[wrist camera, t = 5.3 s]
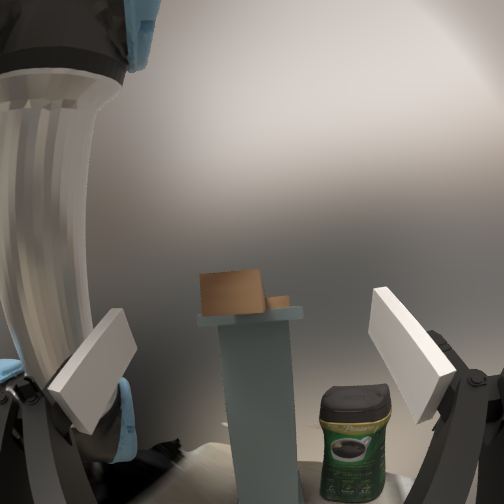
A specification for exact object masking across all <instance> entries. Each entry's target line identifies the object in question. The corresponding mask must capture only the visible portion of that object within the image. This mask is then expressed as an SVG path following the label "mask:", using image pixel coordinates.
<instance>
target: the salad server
mask: <svg viewBox="0 0 504 504" xmlns="http://www.w3.org/2000/svg"><path fill="white" fill-rule="evenodd" d="M200 288H201V289H200V290H201V305H202V317H205V316H222V315H237V314H251V313H263V312H264V311H265V310H266V309H277V308H287V307H290V306H289V296H280V297H268V298H265V290H264V286H263V282H262V279H261V275H260V271H259V269H254V270H243V271H231V272H220V273H209V274H208V273H207V274H200Z"/></svg>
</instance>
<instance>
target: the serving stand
mask: <svg viewBox="0 0 504 504" xmlns="http://www.w3.org/2000/svg"><path fill="white" fill-rule="evenodd" d="M300 318H303V308H302V306H299V307H298V306H297V307H287V308H277V309H266V310H265V311H264V312H263V313H251V314H237V315H222V316H205V317H202V314H199V315H197V326H213V325H218V335H219V347H220V357H221V367H222V376H223V386H224V396H225V405H226V413H227V420H228V429H229V436H230V444H231V451H232V458H233V465H234V472H235V478H236V484H237V490H238V496H239V497H238V503H237V504H304V498H303V493H302V487H301V481H300V475H299V470H298V471H297V445H296V423H295V405H294V389H293V373H292V359H291V346H290V332H289V320H290V319H300Z"/></svg>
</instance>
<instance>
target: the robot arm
mask: <svg viewBox="0 0 504 504" xmlns="http://www.w3.org/2000/svg"><path fill="white" fill-rule="evenodd" d="M160 3H161V0H0V299H1V303H2V306H3V310H4V313H5V317H6V320H7V323H8V327H9V330H10V333H11V336H12V338H13V341H14V344H15V347H16V349H17V352H18V355H19V357H20V360H21V361H19V360H14V359H0V504H98V503H97V501H96V498H95V496H94V494H93V491H92V489H91V486H90V484H89V481H88V479H87V476H86V473H85V470H84V467H83V464H82V462H107V463H110V464H113V463H115V462H122V461H130V460H132V459H133V458H134V457H135V456H136V453H137V438H136V430H135V419H134V411H133V404H132V397H131V391H130V387H129V383H128V381H127V380H126V379H125V378H122V375H123V373H124V372H125V370H126V368H127V366H128V364H129V363H130V361H131V359H132V357H133V355H134V354H135V352H136V350H137V346H136V344H135V341H134V339H133V336H132V334H131V331H130V328H129V325H128V323H127V320H126V317H125V314H124V311H123V309H122V308H112V309H111V310H110V311H109V312H108V313H107V314H106V315H105V317H104V318H103V319H102V320H101V321H100V322H99V324H98V325H97V326H96V327H95V328H94V330H93V327H92V319H91V312H90V304H89V295H88V283H87V269H86V247H85V246H86V245H85V215H86V191H87V178H88V167H89V166H88V165H89V158H90V149H91V142H92V136H93V129H94V124H95V118H96V114H97V113H98V112H99V110H100V109H101V108H102V107H103V106H104V105H106V104H107V103H108V102H109V101H111V100H112V99H113V98H115V97H116V96H117V95H119V94H120V92H121V89H122V85H123V81H124V77H125V73H126V71H128V72H129V73H134V72H136V71H140V70H143V69H145V67H146V66H147V62H148V57H149V53H150V48H151V42H152V37H153V32H154V27H155V21H156V17H157V14H158V10H159V7H160ZM368 333H369V335H370V337H371V338H372V340H373V342H374V344H375V346H376V348H377V349H378V351H379V353H380V355H381V357H382V358H383V360H384V362H385V364H386V366H387V368H388V369H389V371H390V373H391V375H392V377H393V379H394V381H395V382H396V385H397V386H398V388H399V390H400V392H401V394H402V396H403V398H404V400H405V402H406V404H407V406H408V408H409V410H410V412H411V414H412V416H413V418H414V420H415V423H416V424H419V423H421V422H424V421H427V420H430V419H432V418H433V416H434V414H435V412H436V411H437V410H438V412H439V413H440V415H441V416H440V418H439V419H438V421H437V423H436V424H435V426H434V427H433V429H432V431H434V430H435V431H434V434H433V437H432V440H431V443H430V446H429V449H428V451H427V454H426V456H425V459H424V461H423V464H422V466H421V468H420V471H419V473H418V475H417V477H416V480H415V482H414V484H413V486H412V488H411V490H410V492H409V494H408V496H407V498H406V500H405V502H404V504H465V502H466V499H467V497H468V494H469V491H470V488H471V485H472V481H473V478H474V475H475V471H476V467H477V463H478V459H479V464H478V485H477V496H476V504H504V368H503V370H502V372H501V374H500V375H494V376H487V375H486V374H485V373H484V372H482V371H480V370H478V369H469V368H468V367H467V366H466V364H465V363H464V362H463V361H462V360H461V358H460V357H459V356H458V355H457V354H456V352H455V351H454V350H452V347H451V346H450V345H449V344H447V341H446V340H445V339H444V338H443V337H442V336H441V335H440V334H438V333H436V332H435V331H433V330H431V331H427V332H426V331H425V330H424V329H423V328H422V326H421V325H420V324H419V323H418V322H417V321H416V319H415V318H414V317H413V316H412V315H411V314H410V312H409V311H408V310H407V309H406V308H405V307H404V306H403V304H402V303H401V302H400V301H399V300H398V299H397V298H396V297H395V296H394V294H393V293H392V292H391V291H390V290H389V289H388V288H387V287H381V288H374V289H373V299H372V307H371V316H370V323H369V331H368ZM24 370H25V372H26V373H25V372H24Z"/></svg>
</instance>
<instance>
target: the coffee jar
mask: <svg viewBox="0 0 504 504" xmlns="http://www.w3.org/2000/svg"><path fill="white" fill-rule="evenodd" d="M391 412H392V405H391V398H390V392H389V387H388V385H387V384H379V385H364V386H333V387H331V388H330V389H329V390H328V391H327V392H326V393H325V394H324V395H323V397H322V400H321V408H320V415H319V422H320V425H321V427H322V430H323V433H324V444H325V446H324V460H323V468H322V474H321V481H320V495H321V496H322V497H323V498H325V499H327V500H331V501H336V502H345V503H364V502H368V501H371V500H373V499H375V498H376V497H377V496H378V495H379V494H380V493H381V491H382V489H383V486H384V482H385V432H386V425H387V423H388V421H389V419H390V417H391Z"/></svg>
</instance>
